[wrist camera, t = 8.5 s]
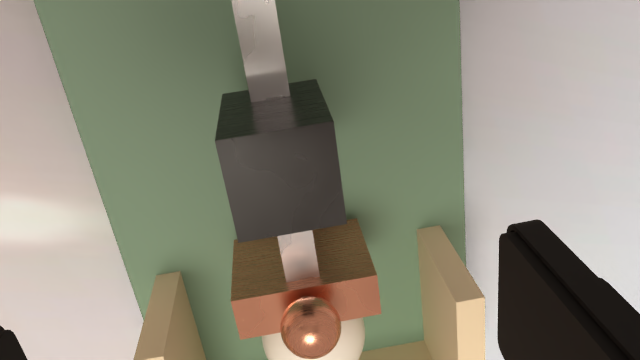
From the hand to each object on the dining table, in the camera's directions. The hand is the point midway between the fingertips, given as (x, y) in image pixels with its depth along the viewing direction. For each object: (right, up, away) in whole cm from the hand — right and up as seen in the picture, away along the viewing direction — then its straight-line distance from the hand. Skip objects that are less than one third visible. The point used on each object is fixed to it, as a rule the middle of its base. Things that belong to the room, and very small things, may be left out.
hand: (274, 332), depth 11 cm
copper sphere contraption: (-1, +5, +14) cm, 15 cm away
